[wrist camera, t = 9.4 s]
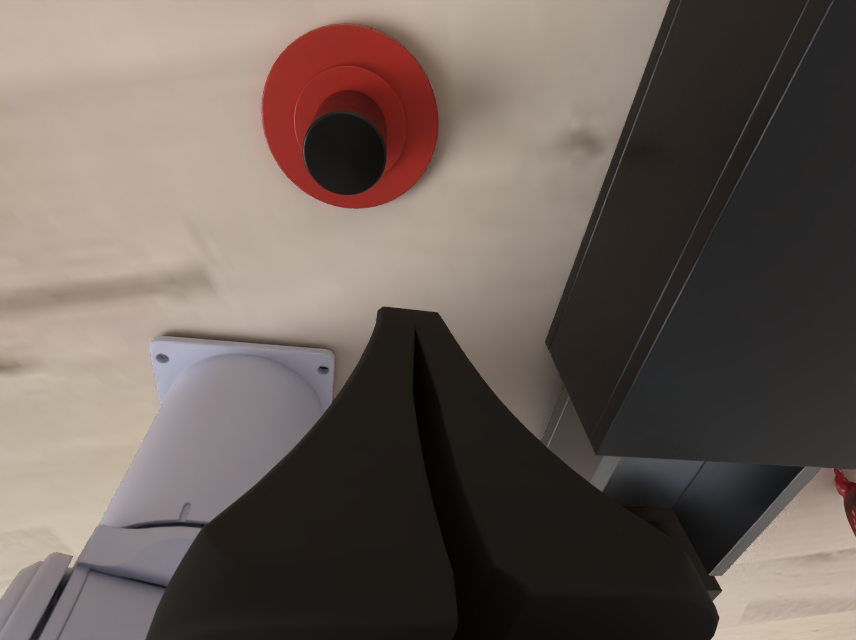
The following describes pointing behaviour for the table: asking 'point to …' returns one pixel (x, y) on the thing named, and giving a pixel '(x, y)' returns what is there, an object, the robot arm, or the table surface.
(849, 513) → the decorative bird figurine
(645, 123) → the small drawer cabinet
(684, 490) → the pull-out tray box
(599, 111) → the table surface
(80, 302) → the table surface
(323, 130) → the lid
